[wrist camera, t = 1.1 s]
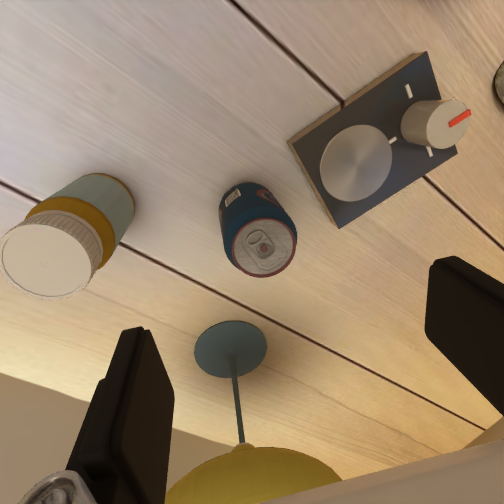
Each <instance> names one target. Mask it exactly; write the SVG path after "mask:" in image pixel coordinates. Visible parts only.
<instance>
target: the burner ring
mask: <svg viewBox="0 0 504 504" xmlns="http://www.w3.org/2000/svg"><path fill="white" fill-rule="evenodd" d="M391 163H392V150H391V146H390V143H389V141H388V139H387V137H386V136H385V135H384V134H383V132H381V131H380V130H379V129H377V128H375V127H373V126H370V125H364V124H359V125H353V126H349V127H347V128H345V129H343V130H341V131H340V132H338V133H337V134H336V135H335V136H334V137H333V138H332V139H331V140H330V141H329V142H328V144H327V145H326V147H325V149H324V151H323V153H322V156H321V160H320V166H319V173H320V178H321V182H322V184H323V186H324V188H325V189H326V191H327V192H328V193H329V194H330V195H332V196H333V197H335V198H336V199H339V200H342V201H348V202H351V201H358V200H362V199H364V198H367V197H368V196H370V195H372V194H373V193H374V192H375V191H377V190H378V189H379V188H380V186H381V185H382V184H383V183H384V181H385V180H386V178H387V176H388V174H389V171H390V168H391Z"/></svg>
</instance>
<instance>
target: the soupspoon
mask: <svg viewBox="0 0 504 504" xmlns="http://www.w3.org/2000/svg"><path fill="white" fill-rule="evenodd" d="M495 87H496V92H497V94H498V96H499V98H500V99H501V101H502V102H503V104H504V62H503V64H502V65H501V66H500V68H499V70H498V71H497V74H496V77H495Z"/></svg>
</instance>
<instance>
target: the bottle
mask: <svg viewBox="0 0 504 504" xmlns="http://www.w3.org/2000/svg"><path fill="white" fill-rule="evenodd" d="M133 216H134V201H133V198H132V195H131V194H130V192H129V191H128V189H127V188H126V187H125V186H124V185H123V184H122V183H121V182H119V181H118V180H117V179H115V178H112V177H110V176H108V175H103V174H90V175H85V176H83V177H81V178H79V179H77V180H75V181H74V182H72V183H71V184H69V185H68V186H66V187H64V188H63V189H61V190H60V191H58V192H56V193H55V194H53V195H52V196H50V197H48V198H47V199H45V200H44V201H42V202H41V203H39V204H37V205H36V206H35V207H34V208H32V210H31V211H30V212H29V213H28V215H27V216H26V218H25V220H24V221H23V222H21V223H20V224H18V225H17V226H15V227H14V228H12V229H11V230H9V231H8V232H7V233H6V234H5V236H3V237H2V240H1V241H0V271H1V273H2V275H3V276H4V278H5V279H6V280H7V281H8V282H9V283H10V284H11V285H12V286H13V287H15V288H16V289H17V290H19V291H21V292H22V293H24V294H26V295H29V296H31V297H34V298H38V299H43V300H61V299H66V298H69V297H72V296H74V295H76V294H77V293H79V292H80V291H81V290H83V289H84V288H85V287H86V286H87V284H88V283H89V282H90V280H91V278H92V277H93V275H94V273H95V272H96V270H98V269H100V268H101V267H103V266H104V265H105V263H106V262H107V261H108V260H109V258H110V257H111V256H112V254H113V252H114V250H115V249H116V247H117V245H118V244H119V242H120V240H121V238H122V237H123V235H124V233H125V232H126V230H127V228H128V226H129V225H130V223H131V221H132V218H133Z"/></svg>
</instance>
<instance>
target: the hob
mask: <svg viewBox="0 0 504 504" xmlns="http://www.w3.org/2000/svg"><path fill="white" fill-rule="evenodd" d="M421 100H442V99H441V96H440V93H439V89H438V86H437V83H436V79H435V76H434V73H433V70H432V66H431V63H430V60H429V56H428V53H427V51H425V52H420V53H416V54H412V55H410V56H409V57H408V58H406V59H405V60H403V61H402V62H400V63H399V64H397V65H396V66H395V67H393V68H392V69H390V70H389V71H387V72H386V73H384V74H383V75H382V76H380V77H379V78H377V79H376V80H374V81H373V82H371V83H370V84H369V85H367V86H366V87H364V88H363V89H361V90H360V91H358V92H357V93H356V94H354V95H353V96H351V97H350V98H348V99H347V100H345V101H344V102H343V103H341V104H340V105H338V106H337V107H335V108H334V109H332V110H331V111H330V112H328V113H327V114H325V115H324V116H322V117H321V118H319V119H318V120H317V121H315V122H314V123H312V124H311V125H309V126H308V127H307V128H305V129H304V130H302V131H301V132H299V133H298V134H296V135H295V136H294V137H292V138H291V139H289V140H288V141H287V144H288V145H289V147H290V149H291V151H292V152H293V154H294V156H295V158H296V160H297V161H298V163H299V165H300V167H301V168H302V170H303V172H304V174H305V176H306V177H307V179H308V181H309V183H310V185H311V186H312V188H313V190H314V192H315V193H316V195H317V197H318V199H319V201H320V202H321V204H322V206H323V208H324V210H325V211H326V213H327V215H328V217H329V218H330V220H331V222H332V223H333V224H334V225H335V226H336V227H337V228H338V229H340V228H342V227H343V226H345V225H346V224H348V223H350V222H351V221H353V220H354V219H356V218H357V217H359V216H361V215H362V214H364V213H365V212H367V211H368V210H370V209H372V208H373V207H375V206H376V205H378V204H379V203H381V202H383V201H384V200H386V199H387V198H389V197H390V196H392V195H394V194H395V193H397V192H398V191H400V190H401V189H403V188H404V187H406V186H408V185H409V184H411V183H412V182H414V181H415V180H417V179H419V178H420V177H422V176H423V175H425V174H426V173H428V172H430V171H431V170H433V169H434V168H436V167H437V166H439V165H441V164H442V163H444V162H445V161H447V160H448V159H450V158H452V157H453V156H455V155H456V154H458V152H457V149H456V146H455V144H454V145H453V146H451V147H448V148H445V149H438V148H433V147H428V146H423V145H418V144H413V143H409V142H407V141H406V140H405V139H404V138H403V136H402V133H401V120H402V117H403V115H404V113H405V112H406V110H407V109H408V108H409V107H410V106H411V105H412V104H414V103H415V102H418V101H421ZM451 100H456V98H455V97H454V98H452V99H451ZM359 124H364V125H370V126H373V127H375V128H377V129H379V130H380V131H381V132H383V134H384V135H385V136H386V137H387V139H388V141H389V143H390V146H391V150H392V163H391V168H390V171H389V174H388V176H387V178H386V180H385V181H384V183H383V184H382V185H381V186H380V188H379V189H378V190H377V191H375V192H374V193H373V194H372V195H370V196H368V197H367V198H364V199H362V200H358V201H351V202H348V201H342V200H339V199H336V198H335V197H333V196H332V195H330V194H329V193H328V192H327V191H326V189H325V188H324V186H323V184H322V182H321V178H320V173H319V166H320V160H321V156H322V153H323V151H324V149H325V147H326V145H327V144H328V142H329V141H330V140H331V139H332V138H333V137H334V136H335V135H336V134H337V133H338V132H340V131H341V130H343V129H345V128H347V127H349V126H353V125H359Z"/></svg>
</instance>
